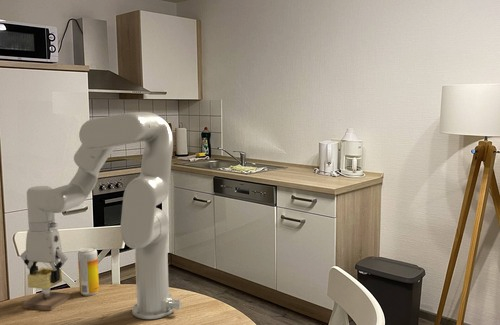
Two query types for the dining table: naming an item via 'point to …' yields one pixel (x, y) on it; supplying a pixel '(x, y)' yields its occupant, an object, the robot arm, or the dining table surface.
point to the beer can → (88, 271)
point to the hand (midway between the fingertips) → (45, 280)
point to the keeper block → (46, 300)
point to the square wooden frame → (42, 279)
